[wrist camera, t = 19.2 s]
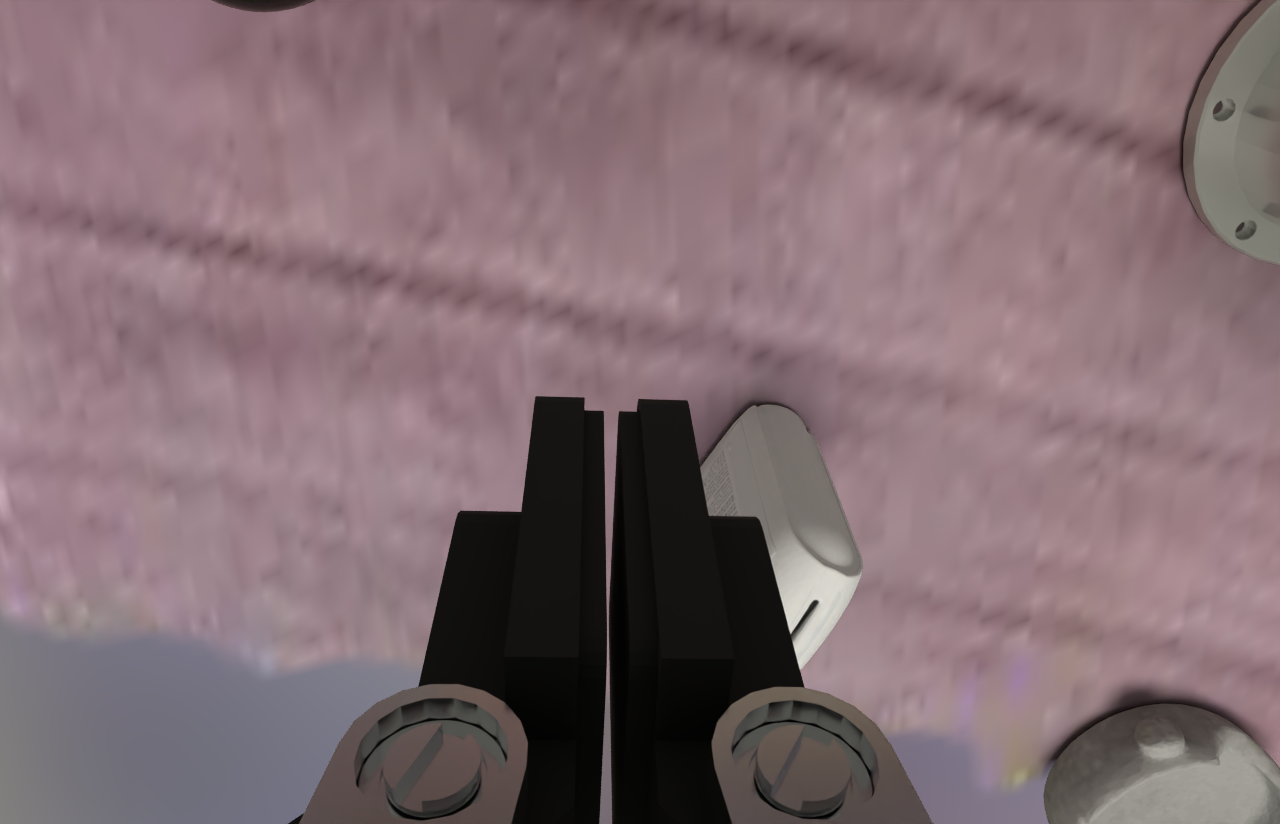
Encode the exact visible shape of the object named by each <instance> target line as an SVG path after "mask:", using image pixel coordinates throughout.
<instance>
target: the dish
mask: <svg viewBox="0 0 1280 824" xmlns="http://www.w3.org/2000/svg"><path fill="white" fill-rule="evenodd" d="M1044 804H1045V810H1046V815H1047V819H1048V822H1049V824H1280V768H1279V767H1278V765H1277V764H1276V763H1275V761H1274V760H1273V759H1272V758H1271V757H1270V756H1269V755H1268V754H1267V753H1266V752H1265V751H1264V750H1263V749H1262V748H1261V747H1260V746H1259V745H1258V744H1257V743H1256V742H1255V741H1254V740H1253V739H1252V738H1251V737H1249V736H1248V735H1247V734H1246V733H1245V732H1244V731H1242V730H1241V729H1240V728H1238V727H1237V726H1235V725H1234V724H1233V723H1231V722H1229V721H1228V720H1226V719H1224V718H1223V717H1221V716H1219V715H1217V714H1214V713H1212V712H1209V711H1206V710H1204V709H1201V708H1197V707H1192V706H1187V705H1182V704H1153V705H1146V706H1141V707H1137V708H1133V709H1130V710H1127V711H1123V712H1120V713H1118V714H1116V715H1113V716H1111V717H1109V718H1107V719H1105V720H1103V721H1101V722H1099V723H1097V724H1096V725H1094V726H1093V727H1091V728H1090V729H1088V730H1087V731H1085V732H1084V733H1083V734H1081V735H1080V736H1079V737H1077V738H1076V739H1075V740H1074V741H1073V742H1072V743H1070V744H1069V745H1068V747H1067V748H1066V749H1065V750H1064V751H1063V752H1062V754H1061V755H1060V756H1059V758H1058V759H1057V760H1056V762H1055V763H1054V765H1053V767H1052V769H1051V771H1050V773H1049V775H1048V778H1047V781H1046V785H1045V790H1044Z"/></svg>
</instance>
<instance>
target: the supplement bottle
mask: <svg viewBox="0 0 1280 824" xmlns="http://www.w3.org/2000/svg"><path fill="white" fill-rule="evenodd" d="M212 1H215V2H217V3H219V4H222V5H225V6H228V7H231V8H236V9H240V10H245V11H253V12H275V11H282V10H288V9H292V8H296V7H299V6H303V5H305V4H308V3H310V2H312V1H315V0H212Z"/></svg>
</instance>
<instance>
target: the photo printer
mask: <svg viewBox="0 0 1280 824" xmlns="http://www.w3.org/2000/svg"><path fill="white" fill-rule="evenodd" d="M700 470H701V475H702V481H703V487H704V492H705V498H706V503H707V509H708V514H709V516H750V517H757V518H758V519H759V520H760V522H761V525H762V528H763V531H764V535H765V539H766V543H767V547H768V550H769V554H770V558H771V562H772V566H773V570H774V573H775V577H776V581H777V585H778V589H779V592H780V596H781V600H782V604H783V608H784V612H785V615H786V619H787V623H788V627H789V631H790V634H791V638H792V642H793V646H794V650H795V654H796V657H797V661H798V665H799V669H800V670H801V669H802V668H803V666H804V665H805V664H806V663H807V662H808V661H809V659H810V658H811V657H812V656H813V654H814V653H815V652H816V651H817V649H818V648H819V647H820V645H821V644H822V643H823V641H824V640H825V639H826V637H827V636H828V635H829V633H830V632H831V630H832V629H833V628H834V626H835V625H836V623H837V621H838V620H839V618H840V617H841V615H842V614H843V612H844V610H845V609H846V607H847V605H848V604H849V602H850V600H851V598H852V596H853V594H854V592H855V589H856V587H857V584H858V582H859V580H860V577H861V574H862V572H863V562H862V558H861V555H860V552H859V550H858V547H857V544H856V541H855V539H854V536H853V533H852V531H851V528H850V526H849V523H848V520H847V518H846V515H845V512H844V510H843V507H842V505H841V502H840V499H839V497H838V494H837V491H836V489H835V486H834V484H833V481H832V478H831V476H830V473H829V471H828V468H827V465H826V463H825V460H824V458H823V456H822V453H821V451H820V448H819V445H818V443H817V441H816V439H815V438H814V436H813V435H812V434H810V433H808V432H807V430H806V427H805V425H804V423H803V421H802V420H801V418H800V417H799V416H798V415H797V414H795V413H794V412H793V411H791V410H789V409H787V408H785V407H782V406H778V405H761V406H759V407H757V406H755V405H753V406H751V407H750V408H748V409H747V410H746V411H745V412H744V413H743V414H742V415H741V416H740V417H739V418H738V419H737V420H736V421H735V423H734V424H733V425H732V426H731V428H730V429H729V430H728V431H727V433H726V434H725V435H724V437H723V438H722V439H721V440H720V442H719V443H718V444H717V446H716V447H715V448H714V450H713V451H712V452H711V454H710V455H709V456H708V458H707V459H706V460H705V462H704V463H703V465H702V466H701V467H700Z"/></svg>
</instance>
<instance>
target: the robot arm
mask: <svg viewBox="0 0 1280 824" xmlns="http://www.w3.org/2000/svg"><path fill="white" fill-rule="evenodd" d="M1215 105H1216V106H1215ZM1214 107H1215V108H1214ZM1183 172H1184V177H1185V182H1186V186H1187V191H1188V196H1189V198H1190V200H1191V202H1192V204H1193V206H1194V208H1195V210H1196V212H1197V214H1198V217H1199V218H1200V219H1201V220H1202V222H1203V223H1204V224H1205V225H1206V226H1207V227H1208V229H1209V230H1210V231H1211V232H1212V233H1213V234H1214V235H1215V236H1216V237H1218V238H1219V239H1220V240H1222V241H1223V242H1225V243H1226V244H1228V245H1229V246H1231V247H1232V248H1234V249H1236V250H1238V251H1240V252H1242V253H1244V254H1246V255H1248V256H1250V257H1252V258H1254V259H1256V260H1260V261H1264V262H1268V263H1272V264H1276V265H1280V0H1261V1H1260V2H1259V3H1258V4H1257V5H1256V6H1255V7H1254V8H1253V9H1252V10H1251V11H1250V12H1249V13H1248V14H1247V15H1246V16H1245V17H1244V18H1243V19H1242V20H1241V21H1240V23H1239V24H1238V25H1237V26H1236V28H1235V29H1234V30H1233V32H1232V33H1231V34H1230V36H1229V37H1228V38H1227V40H1226V41H1225V42H1224V43H1223V45H1222V46H1221V47H1220V49H1219V50H1218V52H1217V53H1216V55H1215V57H1214V59H1213V61H1212V62H1211V64H1210V66H1209V68H1208V69H1207V71H1206V73H1205V75H1204V77H1203V78H1202V80H1201V82H1200V85H1199V88H1198V90H1197V93H1196V96H1195V98H1194V101H1193V103H1192V106H1191V109H1190V111H1189V116H1188V121H1187V126H1186V131H1185V136H1184V141H1183ZM609 660H610V718H611V773H612V774H611V775H612V824H933V823H932V821H931V819H930V817H929V815H928V813H927V811H926V809H925V808H924V806H923V804H922V802H921V800H920V798H919V796H918V795H917V793H916V791H915V789H914V787H913V785H912V783H911V781H910V779H909V778H908V776H907V774H906V772H905V770H904V768H903V766H902V764H901V762H900V760H899V758H898V757H897V755H896V753H895V751H894V749H893V747H892V745H891V744H890V743H889V741H888V740H887V738H886V737H885V736H884V734H883V733H882V732H881V730H880V729H879V727H878V726H877V725H876V724H875V723H874V722H873V721H872V720H871V719H869V718H868V717H867V716H866V715H864V714H863V713H862V712H861V711H859V710H858V709H857V708H856V707H855V706H853V705H851V704H849V703H847V702H845V701H843V700H841V699H838V698H836V697H834V696H832V695H830V694H828V693H824V692H820V691H815V690H811V689H807V688H804V684H803V680H802V676H801V673H800V669H799V665H798V661H797V657H796V654H795V650H794V646H793V642H792V638H791V634H790V631H789V627H788V623H787V619H786V615H785V612H784V608H783V604H782V600H781V596H780V592H779V589H778V585H777V581H776V577H775V573H774V570H773V566H772V562H771V558H770V554H769V550H768V547H767V543H766V539H765V535H764V531H763V528H762V525H761V522H760V520H759V519H758V518H757V517H750V516H709V514H708V509H707V503H706V498H705V492H704V487H703V481H702V475H701V470H700V464H699V459H698V453H697V448H696V442H695V437H694V431H693V426H692V420H691V415H690V409H689V404H688V401H686V400H652V399H638V405H637V412H623V411H619V417H618V435H617V456H616V476H615V497H614V518H613V538H612V559H611V580H610V601H609ZM606 666H607V606H606V537H605V468H604V411H586V410H584V398H579V397H543V396H536V397H535V404H534V412H533V420H532V429H531V437H530V445H529V453H528V462H527V470H526V478H525V487H524V495H523V503H522V511H521V512H497V511H460V512H459V513H458V515H457V518H456V522H455V526H454V530H453V535H452V539H451V544H450V548H449V553H448V557H447V561H446V566H445V570H444V575H443V579H442V584H441V588H440V593H439V597H438V602H437V606H436V611H435V615H434V620H433V624H432V628H431V633H430V637H429V642H428V646H427V651H426V655H425V660H424V664H423V669H422V673H421V678H420V682H419V687H416V688H411V689H408V690H403V691H401V692H398V693H396V694H394V695H392V696H390V697H388V698H386V699H384V700H382V701H380V702H377V703H376V704H375V705H373V706H372V707H371V708H370V709H368V710H367V711H366V712H365V713H364V714H362V715H361V716H360V717H359V718H357V719H356V720H355V721H354V722H353V724H352V725H351V726H350V728H349V730H348V731H347V732H346V734H345V735H344V737H343V738H342V739H341V741H340V742H339V744H338V746H337V748H336V750H335V752H334V754H333V756H332V758H331V760H330V762H329V764H328V766H327V768H326V770H325V772H324V774H323V776H322V778H321V780H320V782H319V784H318V786H317V788H316V790H315V792H314V795H313V796H312V798H311V800H310V802H309V804H308V806H307V808H306V811H305V813H303V814H302V815H301V816H299V817H298V818H296V819H295V820H293V821H292V822H290V823H289V824H599V817H600V796H601V776H602V755H603V735H604V713H605V694H606Z"/></svg>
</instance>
